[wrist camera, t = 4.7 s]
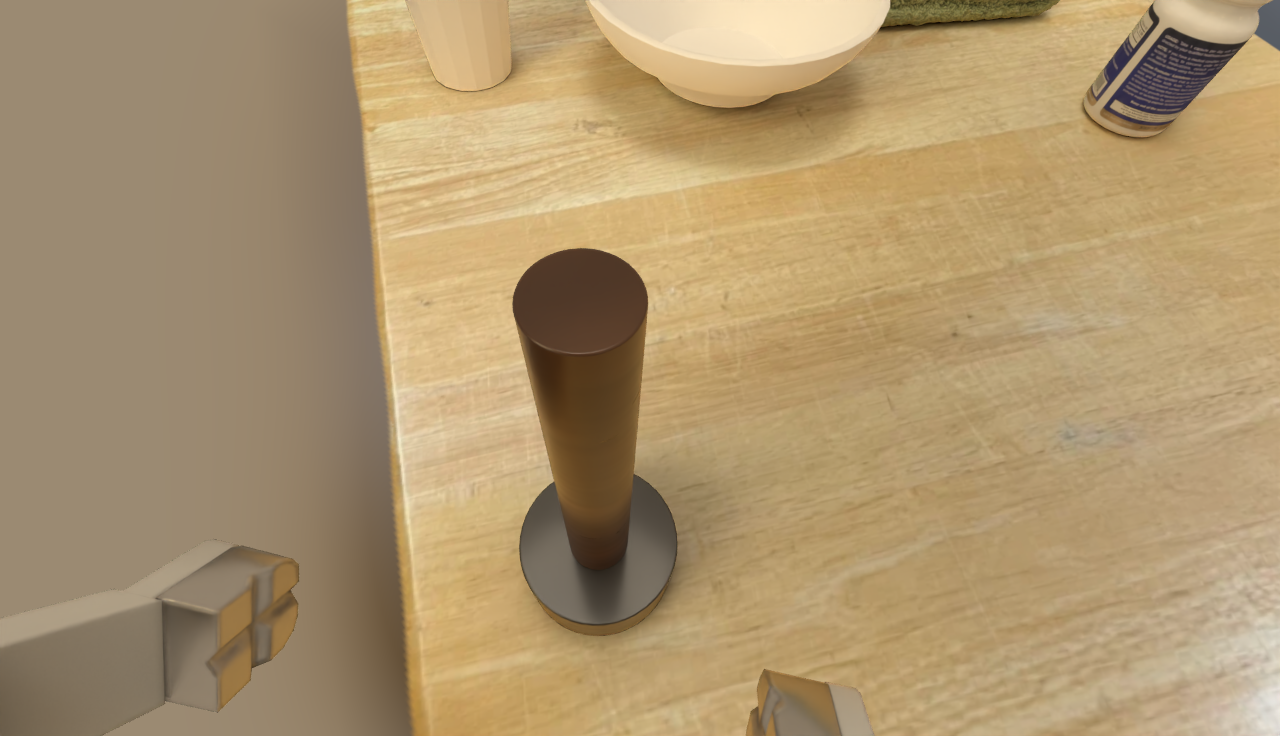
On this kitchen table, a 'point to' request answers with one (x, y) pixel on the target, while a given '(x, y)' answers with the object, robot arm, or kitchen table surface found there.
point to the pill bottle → (1168, 62)
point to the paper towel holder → (590, 445)
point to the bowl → (738, 43)
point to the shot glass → (464, 41)
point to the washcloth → (961, 10)
